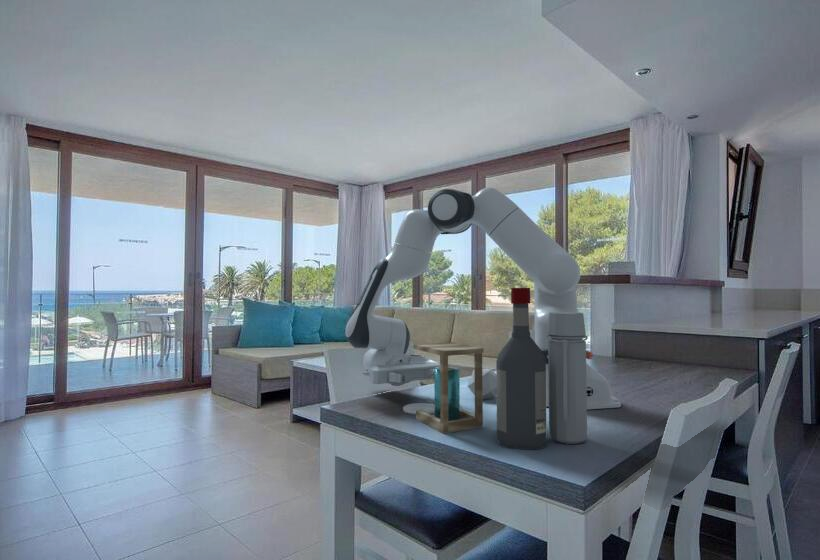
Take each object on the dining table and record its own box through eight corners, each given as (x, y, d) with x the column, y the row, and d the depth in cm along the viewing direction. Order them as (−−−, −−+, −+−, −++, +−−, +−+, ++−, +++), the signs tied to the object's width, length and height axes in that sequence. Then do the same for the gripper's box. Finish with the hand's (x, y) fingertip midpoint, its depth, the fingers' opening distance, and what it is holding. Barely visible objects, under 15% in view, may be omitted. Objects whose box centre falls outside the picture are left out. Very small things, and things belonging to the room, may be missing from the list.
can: (457, 418, 108) (457, 365, 108) (461, 425, 102) (461, 369, 103) (433, 419, 108) (433, 365, 108) (435, 426, 102) (435, 369, 102)
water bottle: (549, 431, 98) (547, 311, 98) (589, 436, 95) (588, 312, 95) (543, 445, 89) (542, 313, 90) (588, 451, 86) (586, 314, 87)
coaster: (437, 405, 120) (437, 402, 120) (441, 414, 111) (441, 412, 111) (402, 405, 120) (402, 403, 120) (403, 415, 111) (403, 412, 111)
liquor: (496, 447, 88) (494, 287, 89) (500, 432, 97) (498, 288, 98) (546, 451, 86) (545, 287, 86) (545, 436, 95) (544, 287, 95)
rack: (414, 418, 108) (414, 344, 108) (451, 413, 113) (451, 342, 113) (444, 434, 96) (443, 351, 97) (484, 427, 101) (483, 348, 101)
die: (496, 405, 123) (510, 373, 127) (468, 389, 123) (482, 357, 127) (486, 409, 130) (499, 378, 134) (459, 394, 130) (473, 364, 134)
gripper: (360, 359, 124) (381, 367, 111) (428, 355, 133) (454, 362, 121) (360, 383, 124) (381, 394, 111) (427, 377, 133) (454, 386, 120)
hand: (419, 377), depth 116 cm, fingers open, 8 cm apart
